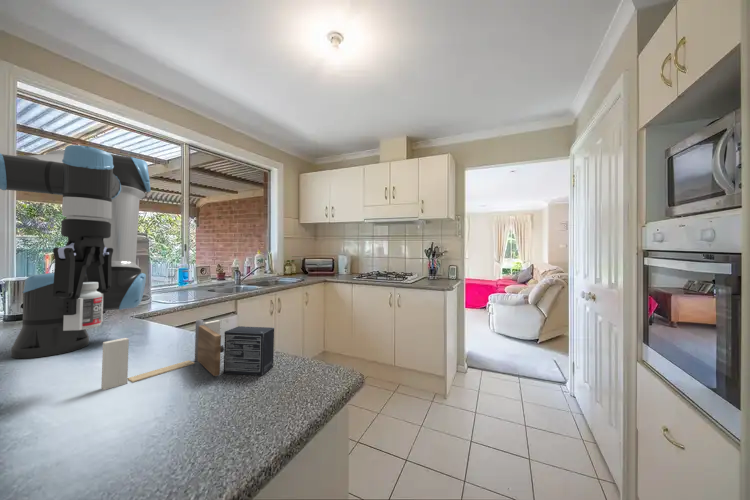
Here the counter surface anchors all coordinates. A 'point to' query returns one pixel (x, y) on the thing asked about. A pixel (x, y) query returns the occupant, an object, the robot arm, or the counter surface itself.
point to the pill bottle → (91, 305)
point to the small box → (248, 350)
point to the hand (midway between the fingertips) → (84, 325)
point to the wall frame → (118, 360)
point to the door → (209, 349)
